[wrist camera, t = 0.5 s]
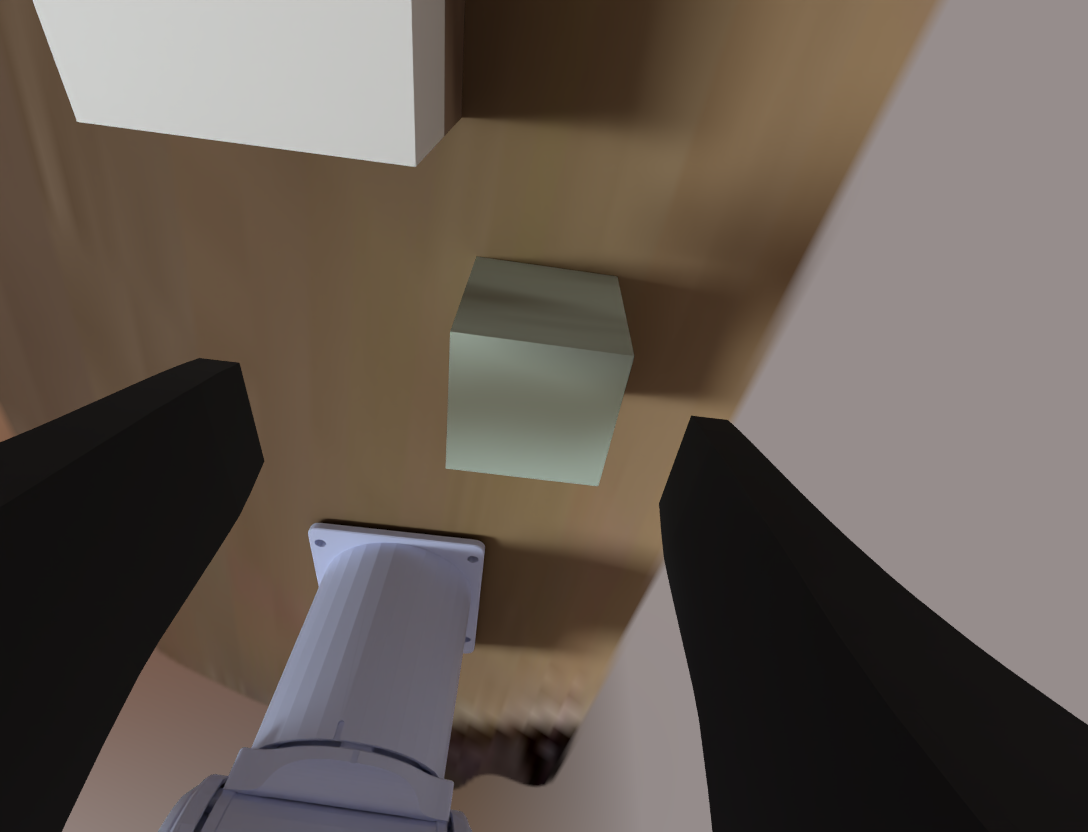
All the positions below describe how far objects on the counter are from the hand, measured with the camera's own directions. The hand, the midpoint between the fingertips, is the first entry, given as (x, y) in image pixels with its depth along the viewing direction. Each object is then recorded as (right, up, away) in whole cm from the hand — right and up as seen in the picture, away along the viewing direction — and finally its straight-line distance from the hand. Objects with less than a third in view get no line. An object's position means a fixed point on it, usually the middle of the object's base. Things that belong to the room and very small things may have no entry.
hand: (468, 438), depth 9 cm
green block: (+1, +3, +9) cm, 10 cm away
